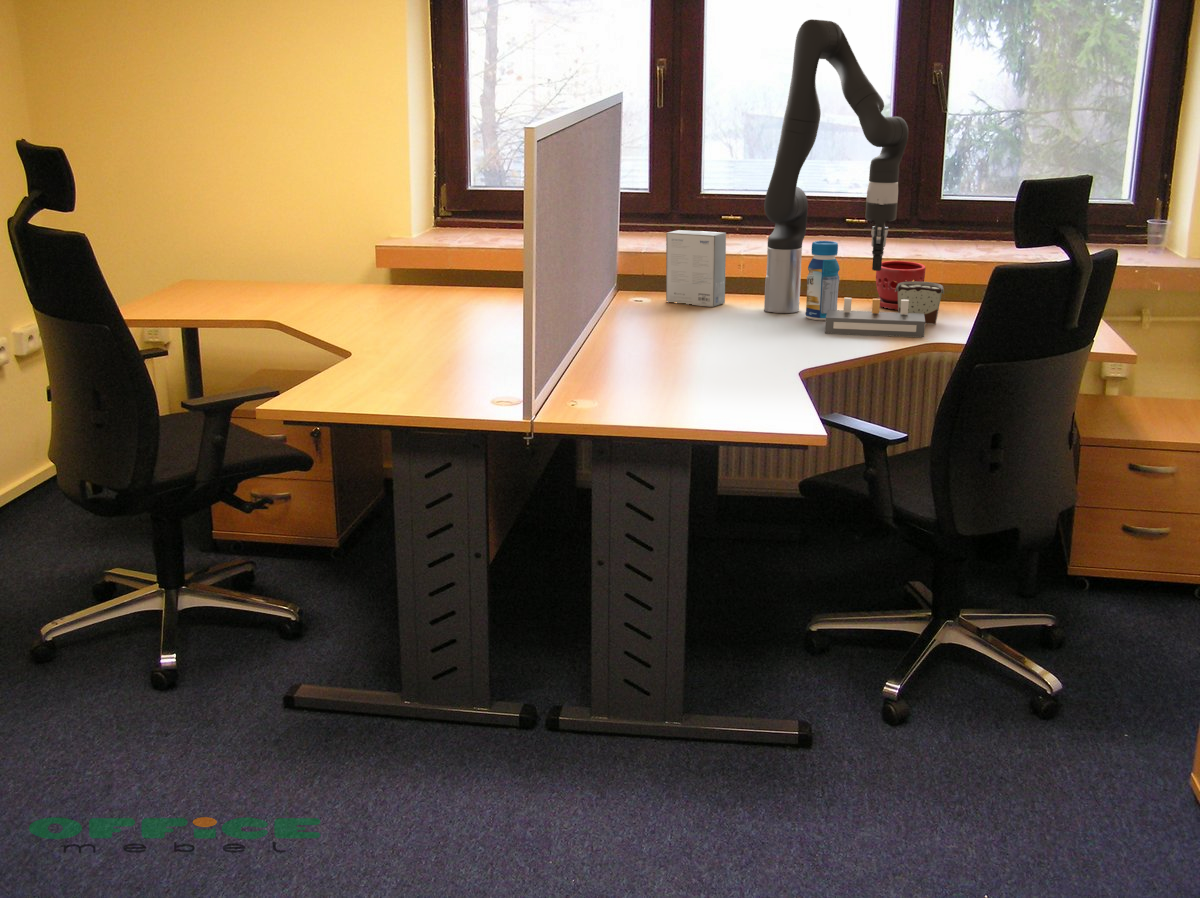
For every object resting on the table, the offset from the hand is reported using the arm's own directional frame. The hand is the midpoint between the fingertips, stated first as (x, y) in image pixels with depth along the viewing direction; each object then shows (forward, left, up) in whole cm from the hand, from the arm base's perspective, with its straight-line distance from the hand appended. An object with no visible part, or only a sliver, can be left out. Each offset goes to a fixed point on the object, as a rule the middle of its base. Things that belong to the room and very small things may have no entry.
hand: (876, 270), depth 294 cm
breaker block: (0, -5, -15) cm, 15 cm away
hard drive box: (-50, +23, -15) cm, 57 cm away
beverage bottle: (-14, +9, -15) cm, 22 cm away
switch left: (-7, -3, -10) cm, 13 cm away
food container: (+11, +10, -15) cm, 22 cm away
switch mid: (0, -3, -10) cm, 11 cm away
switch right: (+7, -3, -10) cm, 13 cm away
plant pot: (+6, +28, -15) cm, 33 cm away
